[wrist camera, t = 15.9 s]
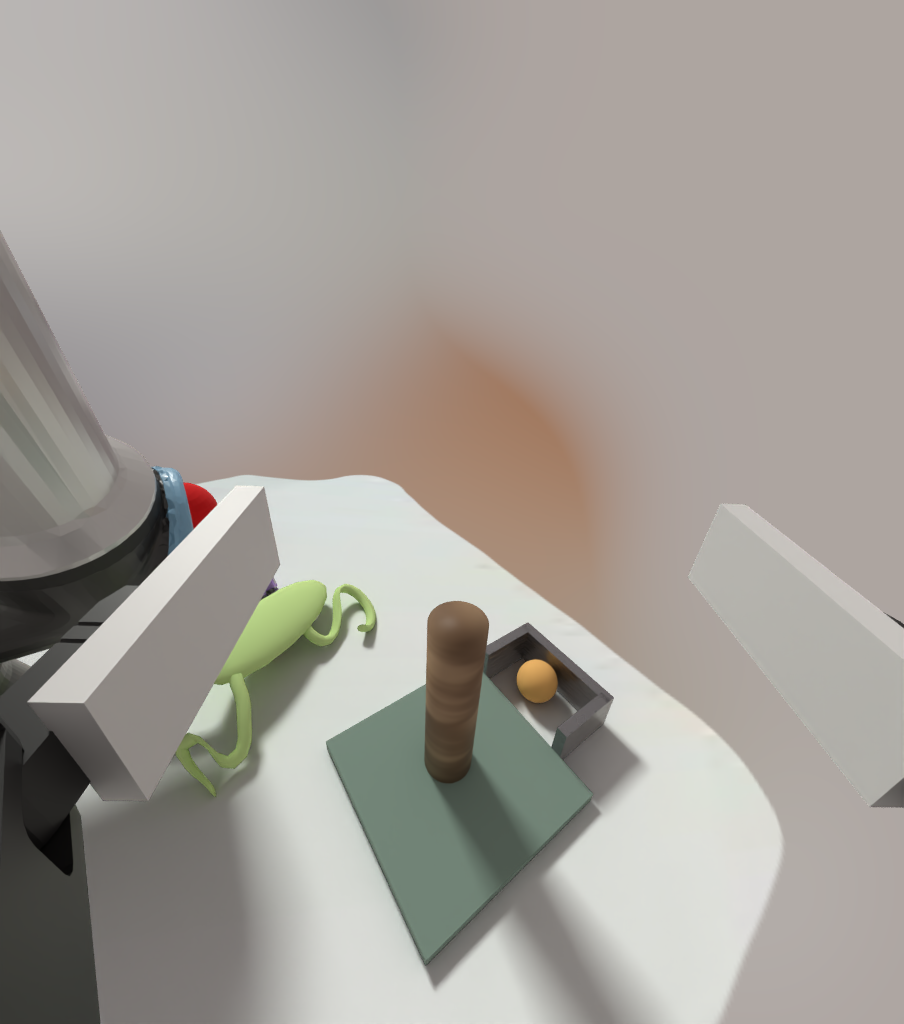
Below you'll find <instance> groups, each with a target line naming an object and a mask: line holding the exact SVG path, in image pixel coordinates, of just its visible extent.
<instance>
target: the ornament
mask: <svg viewBox="0 0 904 1024" xmlns="http://www.w3.org/2000/svg"><path fill="white" fill-rule="evenodd" d="M183 484H184V488H185V491H186V496H187V500H188V504H189V509H190V514H191V519H192V524H193V529H195V528H196V527H197V525H198V524H199V523H200V522H201V521H202V520H203V519H204V518H205V517H206V516H207V515H208V514H209V513H210V512H211V511H212V510H213V509H214V508H215V507H216V506H217V502H216V500H215V499H214V497H213V496H212V495H211V494H210V493H209V492H208V491H207V490H205V489H204V488H202V487H200V486H198V485H195V484H191V483H183Z"/></svg>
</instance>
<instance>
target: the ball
mask: <svg viewBox="0 0 904 1024" xmlns="http://www.w3.org/2000/svg"><path fill="white" fill-rule="evenodd" d="M517 686H518V689H519V691H520V692H521V694H522V695H523V696H524V697H525V698H526V699H527V700H529V701H531V702H534V703H543V702H546V701H548V700H550V699H551V698H552V697H553V696H554V694H555V693H556V690H557V686H558V679H557V675H556V673H555V671H554V669H553V668H552V667H551V666H550V665H549V664H548V663H546V662H544V661H542V660H536V659H535V660H530V661H527V662H525V663H524V664H523V665H522V666H521V667H520V669H519V671H518V674H517Z"/></svg>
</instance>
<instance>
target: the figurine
mask: <svg viewBox="0 0 904 1024" xmlns="http://www.w3.org/2000/svg"><path fill="white" fill-rule="evenodd" d="M276 588H277V583H276V581H275V579H274V577H273V578H272V580H271V582H270V584H269V586H268V587H267V589H266V591H265V593H264V594H263V596H264V595H266V594H267V595H269V594H271V593H272V594H271V595H269V596H267V597H266V598H264V599H262V600H260V602H259V603H258V605H257V607H256V609H255V611H254V612H253V614H252V616H251V618H250V620H249V621H248V623H247V625H246V627H245V629H244V630H243V632H242V634H241V636H240V638H239V639H238V641H237V643H236V645H235V647H234V648H233V650H232V652H231V654H230V655H229V657H228V659H227V661H226V663H225V664H224V666H223V668H222V670H221V672H220V673H219V675H218V677H217V679H216V681H215V682H214V684H218V685H223V684H226V683H230V687H231V690H232V692H233V695H234V698H235V702H236V713H237V733H238V740H237V744H236V749H235V750H234V751H233V752H232V753H231V754H229V755H228V756H226V755H223V754H220V753H217V752H216V751H215V750H214V749H213V748H212V747H211V746H210V745H209V744H207V743H206V742H205V741H204V740H203V739H202V738H201V737H199V736H196V735H193V734H191V733H187V734H186V735H185V736H184V738H183V740H182V742H181V743H180V745H179V747H178V749H177V751H176V752H175V753H176V756H177V758H178V759H179V760H180V762H181V763H182V765H183V766H184V768H185V769H186V770H187V771H188V772H189V773H190V774H191V775H192V776H193V777H194V778H196V779H197V780H198V781H199V782H201V783H202V784H203V785H204V786H205V787H206V788H207V789H208V790H209V791H210V793H211V794H212V795H213V796H215V797H216V792H215V789H214V786H213V785H212V784H211V782H210V781H209V780H208V779H207V778H206V777H205V776H204V775H203V773H202V772H201V771H200V770H199V768H198V767H197V766H196V764H195V763H194V761H193V760H192V758H191V756H190V753H189V750H188V749H189V748H190V747H192V746H194V745H195V744H197V743H199V744H200V745H202V746H203V747H205V748H206V749H207V750H208V751H209V753H210V754H211V756H212V757H213V758H214V760H215V761H216V762H217V763H218V764H219V765H220V767H222V768H233V769H235V768H236V767H237V766H238V765H239V764H240V763H241V762H242V761H243V760H244V759H245V758H246V757H247V754H248V751H249V748H250V745H251V742H252V722H251V701H250V697H249V692H248V690H247V687H246V684H245V681H244V678H245V677H246V676H248V675H250V674H252V673H254V672H255V671H257V670H259V669H261V668H262V667H264V666H266V665H267V664H269V663H270V662H271V661H273V660H274V659H275V658H276V657H278V656H279V655H280V654H282V653H283V652H284V651H285V650H287V649H288V648H289V647H290V646H292V645H293V644H294V643H295V642H296V641H297V640H298V639H299V638H300V637H301V636H302V635H304V636H305V637H306V638H307V639H308V640H309V641H310V642H311V643H313V644H316V645H318V646H321V647H322V646H326V645H330V644H331V643H332V642H333V641H334V639H335V638H336V637H337V635H338V632H339V629H340V626H341V620H342V611H341V602H340V593H341V592H342V593H347V594H349V595H351V596H353V597H354V598H355V599H356V600H357V601H358V602H359V603H360V604H361V606H362V607H363V609H364V611H365V614H366V624H365V625H359V626H358V628H357V629H358V631H361V632H368V631H370V630H372V628H373V627H374V625H375V621H376V616H375V610H374V607H373V605H372V604H371V602H370V600H369V599H368V598H367V596H366V595H365V594H364V593H363V592H362V591H361V590H360V589H358V588H356V587H354V586H352V585H348V584H344V585H342V586H340V587H338V588H337V589H336V590H335V593H334V596H333V622H332V627H331V631H330V633H329V634H328V635H327V636H324V635H321V634H319V633H318V632H316V631H315V630H314V629H313V628H312V626H311V625H312V623H313V622H314V621H315V620H316V619H317V618H318V616H319V614H320V612H321V611H322V608H323V606H324V603H325V601H326V598H327V593H326V587H325V585H324V584H322V583H320V582H318V581H315V580H309V581H302V582H296V583H294V584H292V585H289V586H287V587H284V588H282V589H279V590H277V591H276V592H274V591H275V590H276ZM273 592H274V593H273Z"/></svg>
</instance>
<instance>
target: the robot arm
mask: <svg viewBox="0 0 904 1024" xmlns="http://www.w3.org/2000/svg"><path fill="white" fill-rule="evenodd" d="M279 566H280V562H279V557H278V552H277V547H276V542H275V538H274V533H273V528H272V523H271V518H270V513H269V508H268V504H267V499H266V494H265V489H264V487H263V486H235V487H234V488H233V489H232V490H231V491H230V492H229V493H228V494H227V495H226V496H225V498H224V499H223V500H222V501H221V502H220V503H219V504H218V505H217V506H216V507H215V508H214V509H213V510H212V511H211V512H210V513H209V514H208V515H207V516H206V517H205V518H204V519H203V520H202V521H201V522H200V523H199V524H198V525H197V527H196V528H195V529H193V524H192V519H191V514H190V509H189V504H188V500H187V496H186V491H185V488H184V484H183V480H182V477H181V475H180V473H179V472H178V471H177V470H175V469H173V468H161V467H158V466H156V467H150V465H149V463H148V462H147V461H146V459H145V458H144V456H143V455H141V454H140V453H139V452H138V451H137V450H135V449H134V448H133V447H131V446H130V445H128V444H126V443H124V442H122V441H120V440H118V439H115V438H112V437H109V436H106V435H105V434H104V432H103V430H102V428H101V426H100V424H99V422H98V420H97V418H96V416H95V414H94V412H93V410H92V408H91V406H90V404H89V403H88V400H87V399H86V397H85V395H84V393H83V391H82V389H81V387H80V385H79V383H78V381H77V379H76V377H75V375H74V373H73V371H72V369H71V367H70V365H69V363H68V361H67V360H66V358H65V356H64V354H63V352H62V350H61V348H60V346H59V344H58V342H57V340H56V338H55V336H54V335H53V332H52V331H51V329H50V326H49V324H48V323H47V321H46V319H45V317H44V315H43V313H42V311H41V309H40V307H39V305H38V303H37V301H36V299H35V298H34V295H33V293H32V291H31V289H30V288H29V286H28V284H27V282H26V280H25V278H24V276H23V274H22V272H21V270H20V268H19V266H18V264H17V262H16V260H15V258H14V256H13V254H12V252H11V251H10V249H9V247H8V245H7V243H6V241H5V239H4V237H3V235H2V233H1V231H0V1024H100V1015H99V1004H98V994H97V983H96V972H95V962H94V951H93V941H92V930H91V920H90V909H89V899H88V888H87V877H86V867H85V856H84V846H83V835H82V825H81V816H80V813H79V811H78V809H77V807H76V805H75V804H76V802H77V801H78V799H79V798H80V796H81V795H82V794H83V792H84V791H85V789H86V788H87V786H88V785H89V783H90V784H91V786H92V787H93V788H94V790H95V791H96V792H97V793H98V795H99V796H100V797H101V799H102V800H103V801H149V799H150V797H151V795H152V794H153V792H154V790H155V788H156V786H157V785H158V783H159V781H160V779H161V777H162V776H163V774H164V772H165V770H166V768H167V767H168V765H169V763H170V761H171V760H172V758H173V756H174V754H175V752H176V751H177V749H178V747H179V745H180V743H181V742H182V740H183V738H184V736H185V734H186V733H187V731H188V729H189V727H190V725H191V724H192V722H193V720H194V718H195V716H196V715H197V713H198V711H199V709H200V707H201V706H202V704H203V702H204V700H205V699H206V697H207V695H208V693H209V691H210V690H211V688H212V686H213V684H214V682H215V681H216V679H217V677H218V675H219V673H220V672H221V670H222V668H223V666H224V664H225V663H226V661H227V659H228V657H229V655H230V654H231V652H232V650H233V648H234V647H235V645H236V643H237V641H238V639H239V638H240V636H241V634H242V632H243V630H244V629H245V627H246V625H247V623H248V621H249V620H250V618H251V616H252V614H253V612H254V611H255V609H256V607H257V605H258V603H259V602H260V600H261V598H262V596H263V594H264V593H265V591H266V589H267V587H268V586H269V584H270V582H271V580H272V578H273V577H274V575H275V573H276V571H277V569H278V568H279ZM688 578H689V579H690V580H691V582H692V583H693V584H694V585H695V587H696V588H697V589H698V590H699V592H700V593H701V594H702V596H703V597H704V598H705V599H706V601H707V602H708V603H709V604H710V606H711V607H712V608H713V609H714V611H715V612H716V613H717V615H718V616H719V617H720V618H721V620H722V621H723V622H724V623H725V625H726V626H727V627H728V629H729V630H730V631H731V632H732V633H733V635H734V636H735V637H736V639H737V640H738V641H739V642H740V644H741V645H742V646H743V648H744V649H745V650H746V651H747V653H748V654H749V655H750V656H751V658H752V659H753V660H754V661H755V663H756V664H757V665H758V667H759V668H760V669H761V670H762V672H763V673H764V674H765V676H766V677H767V678H768V679H769V681H770V682H771V683H772V684H773V685H774V687H775V688H776V689H777V691H778V692H779V693H780V695H781V696H782V697H783V698H784V699H785V701H786V702H787V703H788V705H789V706H790V707H791V708H792V710H793V711H794V712H795V713H796V715H797V716H798V717H799V719H800V720H801V721H802V722H803V724H804V725H805V726H806V727H807V729H808V730H809V731H810V733H811V734H812V735H813V736H814V738H815V739H816V740H817V741H818V742H819V744H820V745H821V746H822V748H823V749H824V750H825V752H826V753H827V754H828V755H829V756H830V758H831V759H832V760H833V762H834V763H835V764H836V765H837V767H838V768H839V769H840V770H841V772H842V773H843V774H844V776H845V777H846V778H847V779H848V781H849V782H850V783H851V785H853V787H854V788H855V790H856V791H857V792H858V793H859V795H860V796H861V797H862V799H863V800H864V801H865V802H866V804H867V805H868V806H869V807H904V624H903V623H901V622H900V621H898V620H896V619H894V618H893V617H891V616H889V615H887V614H886V613H884V612H882V611H881V610H880V609H878V608H877V607H876V606H874V605H873V604H872V603H871V602H869V601H868V600H867V599H865V598H864V597H863V596H862V595H861V594H859V593H858V592H857V591H855V590H854V589H853V588H852V587H850V586H849V585H848V584H846V583H845V582H844V581H842V580H841V579H840V578H839V577H838V576H836V575H835V574H834V573H832V572H831V571H830V570H829V569H827V568H826V567H825V566H823V565H822V564H821V563H820V562H818V561H817V560H816V559H815V558H813V557H812V556H811V555H809V554H808V553H807V552H805V551H804V550H803V549H802V548H800V547H799V546H798V545H797V544H795V543H794V542H793V541H791V540H790V539H789V538H788V537H786V536H785V535H784V534H783V533H781V532H780V531H779V530H778V529H776V528H775V527H774V526H772V525H771V524H770V523H769V522H767V521H766V520H765V519H763V518H762V517H761V516H760V515H758V514H757V513H756V512H755V511H753V510H752V509H751V508H749V507H748V506H747V505H738V504H720V506H719V508H718V511H717V513H716V515H715V518H714V520H713V522H712V524H711V526H710V529H709V531H708V533H707V535H706V538H705V540H704V542H703V544H702V547H701V549H700V551H699V553H698V556H697V558H696V560H695V562H694V565H693V567H692V569H691V572H690V574H689V576H688ZM47 649H49V650H48V651H47V652H46V653H45V654H44V655H43V656H42V657H41V658H40V659H39V660H38V661H37V662H36V663H35V664H34V665H33V666H32V667H31V666H29V665H27V664H25V663H23V662H21V661H19V660H16V659H17V658H20V657H24V656H27V655H30V654H33V653H37V652H40V651H43V650H47Z"/></svg>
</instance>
